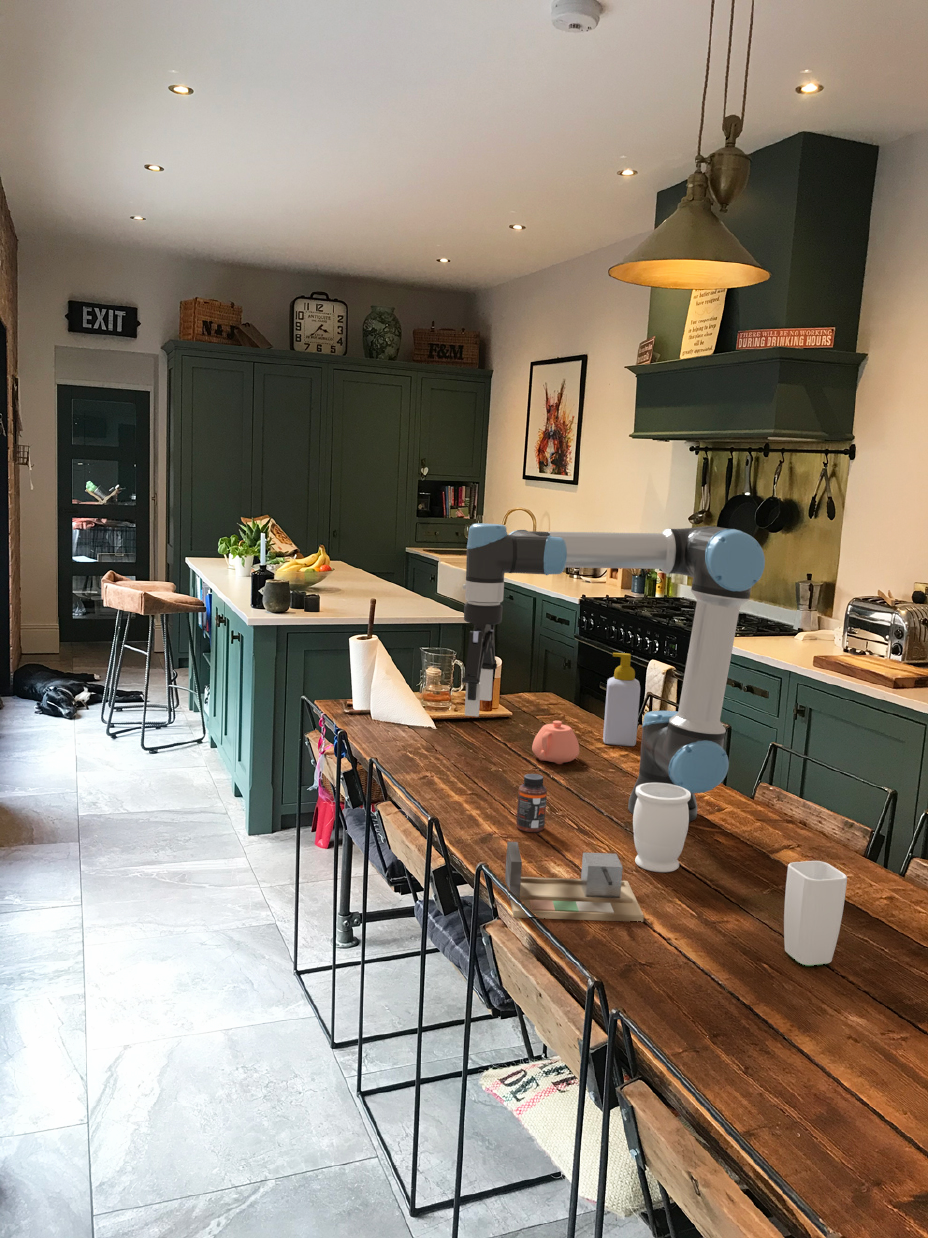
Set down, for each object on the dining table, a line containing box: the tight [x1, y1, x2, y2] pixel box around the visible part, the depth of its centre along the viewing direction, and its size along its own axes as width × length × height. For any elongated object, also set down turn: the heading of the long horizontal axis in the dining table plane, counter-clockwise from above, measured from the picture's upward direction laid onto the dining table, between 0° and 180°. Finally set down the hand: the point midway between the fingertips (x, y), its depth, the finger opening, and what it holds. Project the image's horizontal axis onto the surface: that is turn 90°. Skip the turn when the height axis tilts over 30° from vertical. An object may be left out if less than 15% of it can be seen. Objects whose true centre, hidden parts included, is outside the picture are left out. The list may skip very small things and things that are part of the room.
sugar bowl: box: [531, 720, 580, 765], centre depth 257 cm, size 12×14×10 cm
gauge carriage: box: [580, 851, 624, 898], centre depth 172 cm, size 6×11×6 cm, turn 2°
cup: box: [783, 860, 848, 967], centre depth 157 cm, size 7×7×15 cm
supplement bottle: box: [515, 773, 548, 833], centre depth 208 cm, size 6×6×11 cm
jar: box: [632, 783, 691, 873], centre depth 191 cm, size 11×10×15 cm
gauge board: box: [504, 841, 645, 923], centre depth 173 cm, size 22×14×8 cm, turn 92°
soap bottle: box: [602, 652, 641, 747], centre depth 277 cm, size 9×9×25 cm
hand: (478, 707), depth 199 cm, fingers open, 13 cm apart
